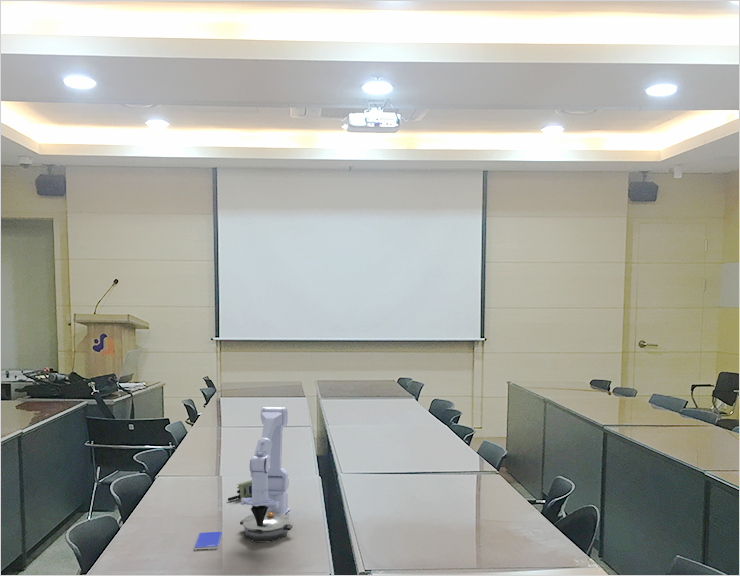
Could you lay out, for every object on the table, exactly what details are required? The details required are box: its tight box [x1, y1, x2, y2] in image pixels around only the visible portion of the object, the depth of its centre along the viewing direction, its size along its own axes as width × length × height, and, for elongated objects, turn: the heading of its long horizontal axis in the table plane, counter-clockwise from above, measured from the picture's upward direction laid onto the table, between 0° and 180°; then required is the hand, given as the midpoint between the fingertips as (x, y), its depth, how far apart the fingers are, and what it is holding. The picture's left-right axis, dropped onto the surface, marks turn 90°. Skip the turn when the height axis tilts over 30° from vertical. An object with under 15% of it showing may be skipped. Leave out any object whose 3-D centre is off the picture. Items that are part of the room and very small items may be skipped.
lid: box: [242, 511, 290, 533], centre depth 228 cm, size 18×17×2 cm
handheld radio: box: [227, 475, 271, 502], centre depth 268 cm, size 7×3×25 cm
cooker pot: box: [239, 519, 293, 542], centre depth 230 cm, size 18×20×4 cm
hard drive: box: [193, 531, 222, 551], centre depth 221 cm, size 2×8×12 cm
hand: (260, 525), depth 224 cm, fingers closed
